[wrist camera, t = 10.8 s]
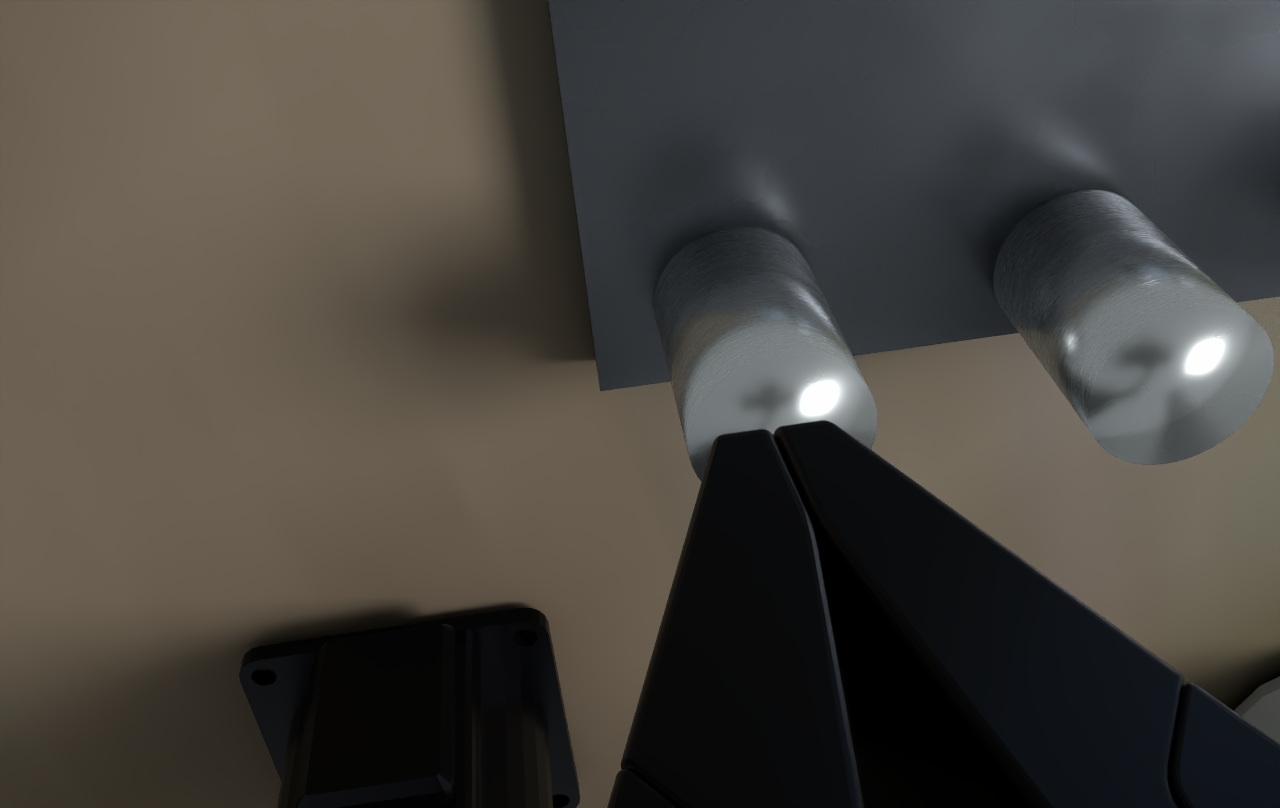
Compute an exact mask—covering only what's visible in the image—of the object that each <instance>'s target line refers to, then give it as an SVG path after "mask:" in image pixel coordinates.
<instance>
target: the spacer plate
mask: <svg viewBox="0 0 1280 808" xmlns="http://www.w3.org/2000/svg"><path fill="white" fill-rule="evenodd" d="M548 7H549V14H550V22H551V29H552V37H553V44H554V52H555V59H556V67H557V74H558V82H559V89H560V97H561V104H562V112H563V119H564V127H565V134H566V142H567V149H568V157H569V164H570V172H571V179H572V187H573V194H574V202H575V209H576V217H577V224H578V232H579V239H580V247H581V254H582V262H583V269H584V277H585V284H586V292H587V299H588V307H589V314H590V322H591V329H592V337H593V344H594V352H595V359H596V366H597V372H598V379H599V385H600V391H605V390H612V389H619V388H626V387H633V386H641V385H648V384H655V383H662V382H669V381H671V384H672V388H673V392H674V396H675V401H676V405H677V409H678V413H679V417H680V421H681V425H682V429H683V433H684V437H685V441H686V445H687V449H688V454H689V458H690V461H691V464H692V467H693V469H694V471H695V473H696V474H697V476H698V478H699V479H700V480H701V482H702V479H703V476H704V472H705V469H706V465H707V462H708V458H709V455H710V451H711V448H712V444H713V442H714V440H715V439H716V438H717V437H718V436H719V435H722V434H729V433H736V432H743V431H750V430H757V429H765V430H768V431H770V432H771V433H772V434H774V432H775V430H776V429H777V428H778V427H781V426H785V425H792V424H799V423H806V422H813V421H820V420H826V421H829V422H832V423H834V424H836V425H837V426H838V427H840V428H841V429H843V430H844V431H845V432H847V433H848V434H849V435H851V436H852V437H854V438H855V439H856V440H858V441H859V442H861V443H862V444H863V445H865V446H866V447H867V448H869V449H870V450H871V447H872V445H873V443H874V439H875V435H876V431H877V410H876V405H875V401H874V399H873V397H872V394H871V392H870V390H869V388H868V386H867V384H866V382H865V380H864V377H863V375H862V373H861V371H860V369H859V367H858V365H857V363H856V361H855V359H854V357H853V356H855V355H863V354H870V353H877V352H884V351H891V350H898V349H906V348H913V347H920V346H927V345H934V344H941V343H949V342H956V341H963V340H970V339H977V338H984V337H991V336H999V335H1006V334H1013V333H1020V335H1021V336H1022V338H1023V339H1024V340H1025V342H1026V343H1027V345H1028V346H1029V347H1030V349H1031V350H1032V351H1033V353H1034V354H1035V356H1036V357H1037V358H1038V360H1039V361H1040V363H1041V364H1042V365H1043V367H1044V368H1045V369H1046V371H1047V372H1048V374H1049V375H1050V376H1051V378H1052V379H1053V381H1054V382H1055V383H1056V385H1057V386H1058V387H1059V389H1060V390H1061V392H1062V393H1063V394H1064V396H1065V397H1066V399H1067V400H1068V401H1069V403H1070V404H1071V406H1072V407H1073V408H1074V410H1075V411H1076V412H1077V414H1078V415H1079V417H1080V418H1081V419H1082V421H1083V422H1084V424H1085V425H1086V426H1087V428H1088V429H1089V430H1090V432H1091V433H1092V435H1093V436H1094V437H1095V439H1096V440H1097V441H1098V443H1099V444H1100V446H1102V447H1103V448H1104V449H1105V450H1106V451H1107V452H1108V453H1110V454H1111V455H1113V456H1115V457H1117V458H1119V459H1121V460H1124V461H1127V462H1131V463H1136V464H1143V465H1156V464H1166V463H1171V462H1177V461H1180V460H1183V459H1187V458H1190V457H1192V456H1195V455H1197V454H1200V453H1202V452H1204V451H1206V450H1208V449H1210V448H1212V447H1214V446H1215V445H1217V444H1218V443H1220V442H1222V441H1223V440H1225V439H1226V438H1227V437H1229V436H1230V435H1231V434H1233V433H1234V432H1235V431H1236V430H1237V429H1238V428H1239V427H1241V426H1242V425H1243V424H1244V423H1245V421H1246V420H1247V419H1248V418H1249V417H1250V416H1251V415H1252V414H1253V412H1254V411H1255V410H1256V408H1257V407H1258V405H1259V404H1260V402H1261V401H1262V399H1263V397H1264V395H1265V393H1266V391H1267V389H1268V387H1269V384H1270V381H1271V378H1272V374H1273V368H1274V353H1273V347H1272V344H1271V341H1270V338H1269V337H1268V335H1267V333H1266V331H1265V330H1264V329H1263V328H1262V327H1261V326H1260V324H1259V323H1258V322H1257V321H1256V320H1254V319H1253V318H1252V317H1251V316H1250V315H1249V314H1248V313H1247V312H1246V311H1245V310H1244V309H1243V308H1242V307H1241V306H1240V305H1239V304H1238V303H1237V302H1242V301H1249V300H1256V299H1264V298H1271V297H1278V296H1280V0H548Z"/></svg>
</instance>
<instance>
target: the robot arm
mask: <svg viewBox="0 0 1280 808" xmlns="http://www.w3.org/2000/svg"><path fill="white" fill-rule="evenodd" d="M521 630H531V631H532V632H529V633H519V632H518V631H521ZM260 669H269V670H272V671H262V670H260ZM239 676H240V682H241V684H242V687H243V689H244V691H245V694H246V696H247V699H248V701H249V704H250V706H251V708H252V711H253V713H254V716H255V718H256V721H257V723H258V725H259V728H260V730H261V733H262V735H263V738H264V740H265V742H266V745H267V747H268V750H269V752H270V754H271V757H272V759H273V762H274V764H275V767H276V769H277V771H278V774H279V776H280V779H281V781H282V782H281V788H280V794H279V800H278V807H277V808H576V807H577V806H578V804H579V801H580V794H579V783H578V778H577V773H576V767H575V762H574V757H573V751H572V746H571V741H570V736H569V730H568V725H567V720H566V714H565V709H564V704H563V698H562V693H561V688H560V683H559V677H558V672H557V667H556V661H555V656H554V651H553V646H552V640H551V635H550V630H549V624H548V620H547V618H546V616H545V615H544V614H543V613H541V612H540V611H539V610H535V609H532V608H518V609H511V610H505V611H498V612H491V613H484V614H477V615H471V616H464V617H457V618H450V619H443V620H437V621H430V622H423V623H416V624H409V625H403V626H396V627H389V628H382V629H375V630H368V631H362V632H355V633H348V634H341V635H334V636H328V637H321V638H314V639H307V640H300V641H294V642H287V643H280V644H273V645H266V646H260V647H257V648H253V649H251V650H250V651H248V652H247V653H246V654H245V655H244V657H243V659H242V664H241V668H240V673H239ZM1183 687H1184V688H1183ZM621 769H622V770H621V771H619V772H618V774H617V776H616V780H615V783H614V786H613V790H612V793H611V797H610V800H609V804H608V807H607V808H1280V743H1279V742H1278V741H1276V740H1275V739H1273V738H1272V737H1270V736H1269V735H1268V734H1266V733H1265V732H1263V731H1262V730H1260V729H1259V728H1257V727H1256V726H1254V725H1253V724H1251V723H1250V722H1249V721H1247V720H1246V719H1244V718H1243V717H1241V716H1240V715H1239V714H1237V713H1236V712H1234V711H1233V710H1232V709H1230V708H1229V707H1227V706H1226V705H1225V704H1223V703H1222V702H1221V701H1219V700H1218V699H1216V698H1215V697H1214V696H1212V695H1211V694H1209V693H1208V692H1207V691H1205V690H1204V689H1203V688H1201V687H1200V686H1198V685H1197V684H1195V683H1187V684H1186V685H1185V686H1184V677H1183V675H1182V674H1181V673H1180V672H1178V671H1177V670H1175V669H1174V668H1173V667H1171V666H1170V665H1168V664H1167V663H1166V662H1164V661H1163V660H1162V659H1160V658H1159V657H1157V656H1156V655H1155V654H1153V653H1152V652H1150V651H1149V650H1148V649H1146V648H1145V647H1143V646H1142V645H1141V644H1139V643H1138V642H1137V641H1135V640H1134V639H1132V638H1131V637H1130V636H1128V635H1127V634H1125V633H1124V632H1123V631H1121V630H1120V629H1119V628H1117V627H1116V626H1114V625H1113V624H1112V623H1110V622H1109V621H1107V620H1106V619H1105V618H1103V617H1102V616H1100V615H1099V614H1098V613H1096V612H1095V611H1094V610H1092V609H1091V608H1089V607H1088V606H1087V605H1085V604H1084V603H1082V602H1081V601H1080V600H1078V599H1077V598H1076V597H1074V596H1073V595H1071V594H1070V593H1069V592H1067V591H1066V590H1064V589H1063V588H1062V587H1060V586H1059V585H1057V584H1056V583H1055V582H1053V581H1052V580H1051V579H1049V578H1048V577H1046V576H1045V575H1044V574H1042V573H1041V572H1039V571H1038V570H1037V569H1035V568H1034V567H1033V566H1031V565H1030V564H1028V563H1027V562H1026V561H1024V560H1023V559H1021V558H1020V557H1019V556H1017V555H1016V554H1014V553H1013V552H1012V551H1010V550H1009V549H1008V548H1006V547H1005V546H1003V545H1002V544H1001V543H999V542H998V541H996V540H995V539H994V538H992V537H991V536H990V535H988V534H987V533H985V532H984V531H983V530H981V529H980V528H978V527H977V526H976V525H974V524H973V523H971V522H970V521H969V520H967V519H966V518H965V517H963V516H962V515H960V514H959V513H958V512H956V511H955V510H953V509H952V508H951V507H949V506H948V505H947V504H945V503H944V502H942V501H941V500H940V499H938V498H937V497H935V496H934V495H933V494H931V493H930V492H928V491H927V490H926V489H924V488H923V487H922V486H920V485H919V484H917V483H916V482H915V481H913V480H912V479H910V478H909V477H908V476H906V475H905V474H904V473H902V472H901V471H899V470H898V469H897V468H895V467H894V466H892V465H891V464H890V463H888V462H887V461H885V460H884V459H883V458H881V457H880V456H879V455H877V454H876V453H874V452H873V451H872V450H870V449H869V448H867V447H866V446H865V445H863V444H862V443H861V442H859V441H858V440H856V439H855V438H854V437H852V436H851V435H849V434H848V433H847V432H845V431H844V430H843V429H841V428H840V427H838V426H837V425H836V424H834V423H832V422H829V421H826V420H820V421H813V422H806V423H799V424H792V425H785V426H781V427H778V428H777V429H776V430H775V432H774V434H772V433H771V432H770V431H768V430H765V429H757V430H750V431H743V432H736V433H729V434H722V435H719V436H718V437H717V438H716V439H715V440H714V442H713V444H712V448H711V451H710V455H709V458H708V462H707V465H706V469H705V472H704V476H703V479H702V483H701V486H700V490H699V493H698V497H697V500H696V504H695V507H694V510H693V514H692V517H691V521H690V524H689V528H688V531H687V535H686V538H685V542H684V545H683V549H682V552H681V556H680V559H679V563H678V566H677V570H676V573H675V577H674V580H673V584H672V587H671V591H670V594H669V598H668V601H667V604H666V608H665V611H664V615H663V618H662V622H661V625H660V629H659V632H658V636H657V639H656V643H655V646H654V650H653V653H652V657H651V660H650V664H649V667H648V671H647V674H646V678H645V681H644V685H643V688H642V692H641V695H640V698H639V702H638V705H637V709H636V712H635V716H634V719H633V723H632V726H631V730H630V733H629V737H628V740H627V744H626V747H625V751H624V754H623V758H622V761H621Z"/></svg>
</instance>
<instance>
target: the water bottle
mask: <svg viewBox="0 0 1280 808" xmlns="http://www.w3.org/2000/svg"><path fill="white" fill-rule="evenodd" d="M1234 712H1236V713H1237V714H1239V715H1240V716H1241V717H1243V718H1244V719H1246V720H1247V721H1249V722H1250V723H1251V724H1253V725H1254V726H1256V727H1257V728H1259V729H1260V730H1262V731H1263V732H1265V733H1266V734H1268V735H1269V736H1270V737H1272V738H1273V739H1275V740H1276V741H1278V742H1279V743H1280V676H1279V677H1277V678H1275V679H1273V680H1271V681H1269V682H1267V683H1265V684H1263V685H1260V686H1259V687H1258V688H1257V689H1256V690H1255V691H1254V692H1253V693H1252V694H1251V695H1250V696H1249V697H1248V698H1247V699H1246V700H1245V701H1244V702H1242V703H1241V704H1240V705H1239V706H1238V707H1237V708H1236V709H1235V710H1234Z"/></svg>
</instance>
